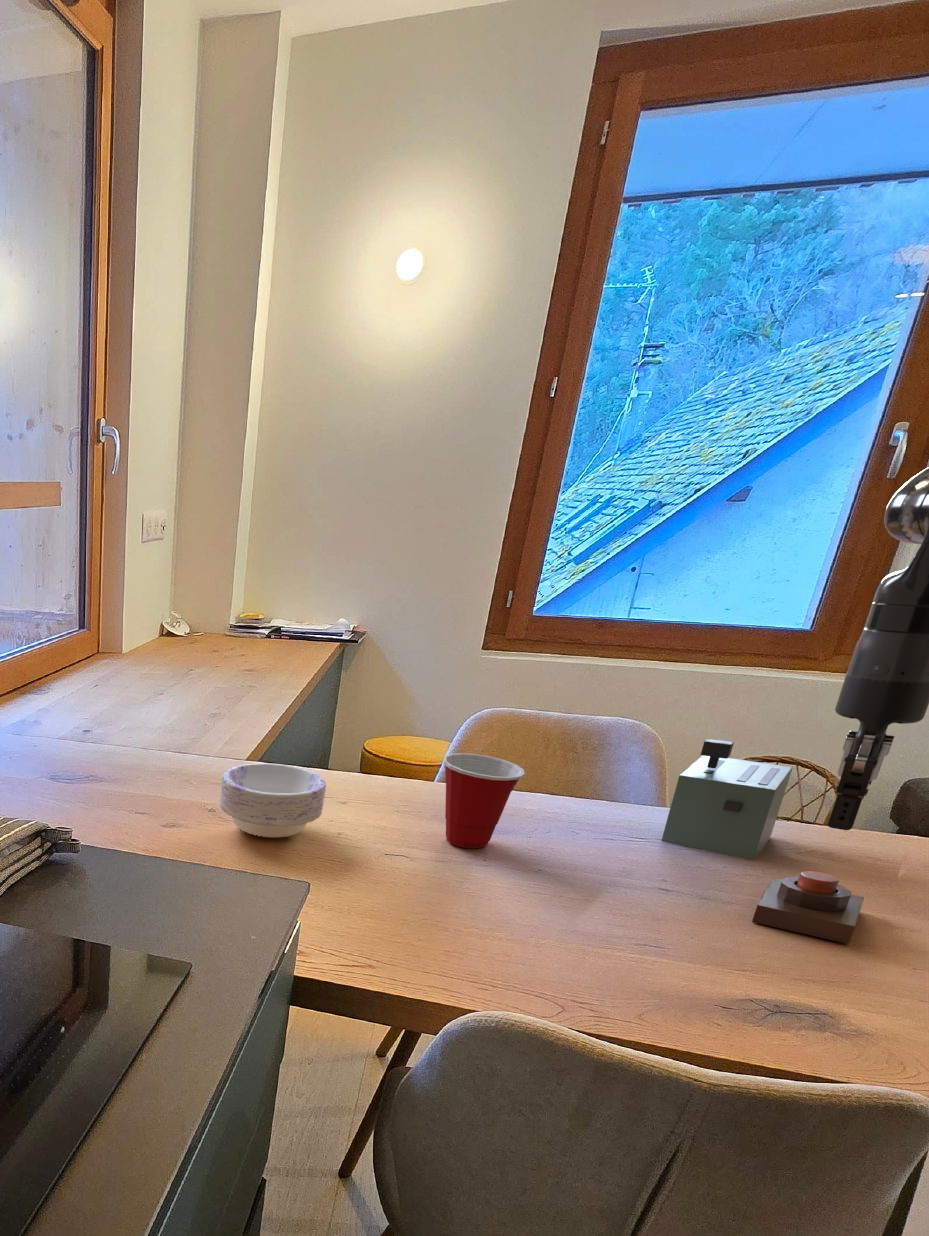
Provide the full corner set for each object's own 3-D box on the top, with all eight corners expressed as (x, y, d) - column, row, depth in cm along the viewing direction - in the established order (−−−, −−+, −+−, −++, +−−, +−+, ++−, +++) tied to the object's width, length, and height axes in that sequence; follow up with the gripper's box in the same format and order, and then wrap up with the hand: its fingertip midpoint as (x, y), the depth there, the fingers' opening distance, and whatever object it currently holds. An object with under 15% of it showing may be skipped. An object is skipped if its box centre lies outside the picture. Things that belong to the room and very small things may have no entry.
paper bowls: (336, 842, 135) (343, 790, 132) (236, 849, 134) (240, 796, 130) (298, 807, 149) (303, 759, 145) (206, 812, 147) (209, 764, 144)
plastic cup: (518, 857, 130) (536, 775, 125) (437, 853, 132) (452, 772, 127) (497, 829, 140) (513, 752, 135) (422, 826, 141) (435, 749, 136)
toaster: (684, 823, 145) (703, 753, 140) (769, 839, 138) (793, 766, 134) (657, 851, 133) (678, 775, 128) (749, 869, 126) (775, 790, 122)
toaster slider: (700, 764, 133) (707, 738, 132) (726, 768, 131) (734, 742, 130) (697, 766, 132) (704, 741, 130) (723, 770, 130) (731, 744, 128)
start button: (798, 882, 112) (802, 868, 111) (835, 889, 109) (840, 875, 109) (794, 890, 109) (798, 876, 108) (832, 898, 107) (837, 884, 106)
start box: (767, 894, 118) (777, 864, 116) (857, 913, 112) (869, 882, 110) (751, 922, 109) (761, 890, 108) (848, 944, 104) (860, 911, 102)
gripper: (936, 685, 93) (877, 849, 100) (940, 670, 102) (885, 821, 108) (841, 677, 97) (791, 834, 104) (853, 663, 106) (806, 808, 113)
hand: (839, 827), depth 106 cm, fingers closed
